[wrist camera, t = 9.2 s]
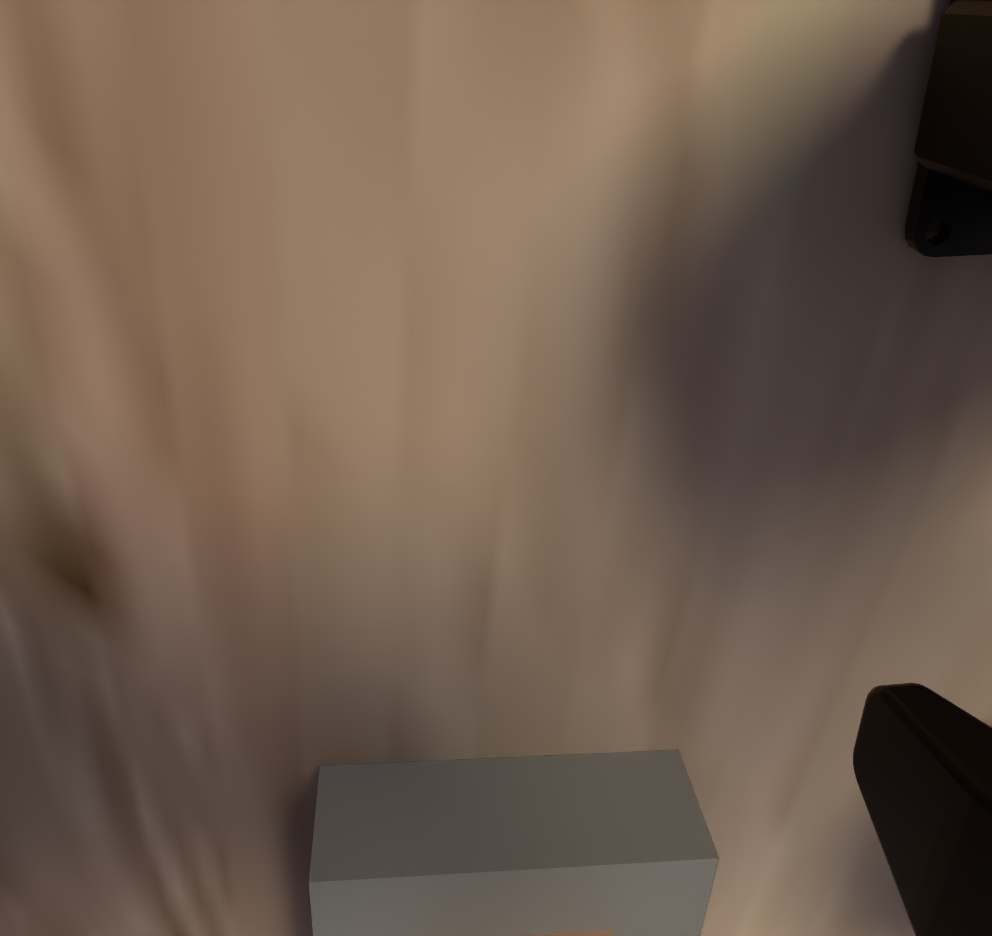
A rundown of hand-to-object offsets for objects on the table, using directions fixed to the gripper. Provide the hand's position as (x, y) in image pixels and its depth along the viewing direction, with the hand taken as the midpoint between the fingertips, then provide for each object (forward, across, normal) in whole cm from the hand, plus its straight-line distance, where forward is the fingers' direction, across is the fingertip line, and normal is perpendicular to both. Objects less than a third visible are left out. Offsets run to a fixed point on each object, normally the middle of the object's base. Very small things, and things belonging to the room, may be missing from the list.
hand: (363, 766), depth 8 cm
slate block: (+12, -2, +18) cm, 22 cm away
